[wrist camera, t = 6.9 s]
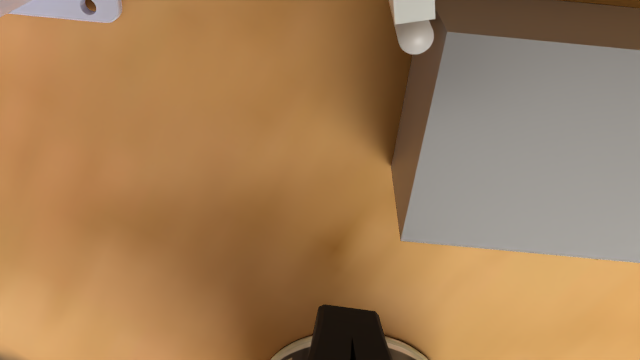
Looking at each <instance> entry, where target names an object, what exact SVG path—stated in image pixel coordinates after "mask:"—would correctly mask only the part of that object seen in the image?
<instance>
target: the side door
mask: <svg viewBox="0 0 640 360" xmlns="http://www.w3.org/2000/svg"><path fill="white" fill-rule="evenodd" d="M388 1H389V5H390V9H391V13H392V17H393V21H394V26H395V30H396V34H397V38H398V42H399V45H400V47H401V48H402V50H404V51H405V52H406V53H409V54H420V53H423V52H425V51H426V50H427V49H428V48H429V47H430V46H431V44H432V42H433V39H434V32H433V29H432V27H431V24H430V22H429V20H432V19H435V0H388Z"/></svg>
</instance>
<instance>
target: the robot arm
mask: <svg viewBox="0 0 640 360" xmlns="http://www.w3.org/2000/svg"><path fill="white" fill-rule="evenodd" d="M91 1H92V2H94V3H95V6H96V11H95V12H94V11H91V10H89V9H88V8H87V6H86V4H85V0H0V17H2V16H3V15H5V14H17V15H28V16H38V17H49V18H59V19H70V20H80V21H91V22H101V23H111V22H113V21H115V20H116V19H117V18H119V17H120V15H121V13H122V2H121V0H91ZM307 360H393V359H392V356H391V353H390V351H389V348H388V345H387V342H386V339H385V336H384V333H383V329H382V326H381V323H380V319H379V315H378V314H377V313H376V312H375V311H368V310H361V309H353V308H346V307H339V306H331V305H322V306H320V307H319V308H318V313H317V317H316V322H315V327H314V332H313V336H312V341H311V346H310V350H309V355H308V359H307Z"/></svg>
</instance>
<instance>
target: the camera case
mask: <svg viewBox="0 0 640 360" xmlns="http://www.w3.org/2000/svg"><path fill="white" fill-rule="evenodd" d="M429 22H430V24H431V27H432V29H433V32H434V39H433V42H432V44H431V46H430V47H429V48H428V49H427V50H426V51H425V52H423V53H420V54H413V55H412V60H411V65H410V71H409V76H408V81H407V86H406V92H405V97H404V102H403V108H402V113H401V118H400V123H399V129H398V134H397V139H396V144H395V150H394V155H393V160H392V165H391V170H392V178H393V186H394V193H395V201H396V209H397V217H398V224H399V232H400V240H401V241H408V242H418V243H429V244H440V245H451V246H462V247H473V248H484V249H494V250H505V251H516V252H527V253H538V254H549V255H560V256H570V257H581V258H592V259H603V260H614V261H625V262H636V263H640V8H632V7H622V6H611V5H601V4H591V3H580V2H570V1H560V0H435V19H432V20H429Z"/></svg>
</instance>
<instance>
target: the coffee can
mask: <svg viewBox="0 0 640 360" xmlns="http://www.w3.org/2000/svg"><path fill="white" fill-rule="evenodd" d="M312 336H313V335H312ZM312 336H309V337H306V338H303V339H300V340H298V341H295V342H293V343H291V344H289V345H287V346H285V347H284V348H283V349H281V350H280V351H279V352H278V353H276V354H275V355H274V356H273V357H272V358H271V360H307V359H308V355H309V350H310V346H311V341H312ZM385 339H386V342H387V345H388V348H389V351H390V353H391V356H392V359H393V360H429V359H428V358H426V357H425V356H424V355H423V354H421V353H420V352H418V351H417V350H416V349H414V348H413V347H411V346H409V345H408V344H406V343H404V342H401V341H399V340H396V339H393V338H390V337H387V336H385Z"/></svg>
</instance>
